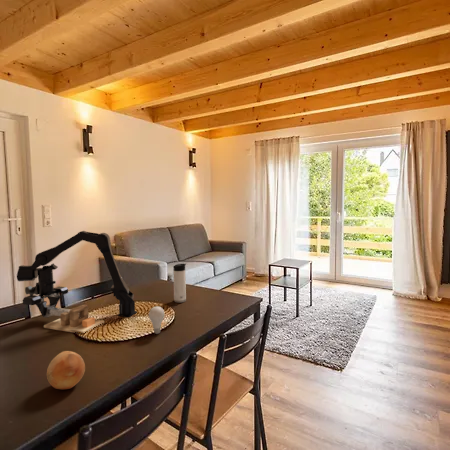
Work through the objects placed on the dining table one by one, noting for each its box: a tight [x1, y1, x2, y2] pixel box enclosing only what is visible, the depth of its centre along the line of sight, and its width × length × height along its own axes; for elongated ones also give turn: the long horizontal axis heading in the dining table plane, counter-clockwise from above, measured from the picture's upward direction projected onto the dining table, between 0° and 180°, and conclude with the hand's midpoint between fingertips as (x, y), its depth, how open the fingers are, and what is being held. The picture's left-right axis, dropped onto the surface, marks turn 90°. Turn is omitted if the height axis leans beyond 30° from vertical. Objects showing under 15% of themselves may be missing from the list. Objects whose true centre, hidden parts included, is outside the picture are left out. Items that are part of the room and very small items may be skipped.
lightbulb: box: [148, 305, 165, 335], centre depth 123 cm, size 6×6×11 cm
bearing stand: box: [43, 304, 105, 334], centre depth 133 cm, size 21×12×8 cm, turn 71°
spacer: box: [82, 316, 96, 327], centre depth 130 cm, size 2×4×2 cm
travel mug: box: [172, 263, 187, 304], centre depth 163 cm, size 6×7×20 cm
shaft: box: [42, 303, 81, 318], centre depth 135 cm, size 18×4×4 cm, turn 71°
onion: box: [46, 350, 86, 390], centre depth 88 cm, size 10×10×10 cm
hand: (47, 314), depth 137 cm, fingers closed on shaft, 4 cm apart
